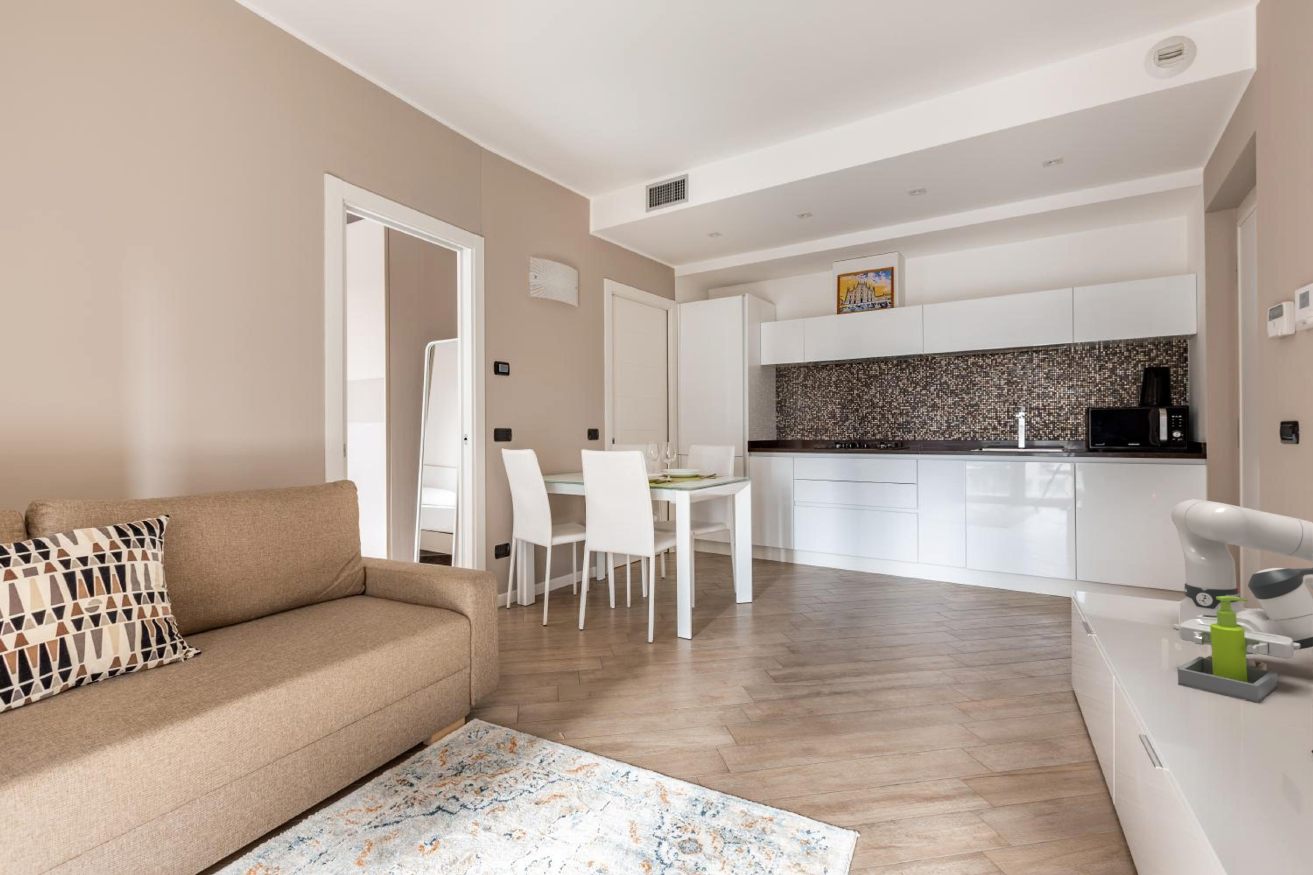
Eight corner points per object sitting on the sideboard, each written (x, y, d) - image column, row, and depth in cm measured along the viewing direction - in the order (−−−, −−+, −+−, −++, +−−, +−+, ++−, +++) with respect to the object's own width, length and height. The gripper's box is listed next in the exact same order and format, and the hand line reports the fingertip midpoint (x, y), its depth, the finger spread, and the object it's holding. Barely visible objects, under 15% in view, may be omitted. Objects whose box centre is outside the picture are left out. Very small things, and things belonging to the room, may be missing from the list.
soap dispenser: (1259, 688, 142) (1254, 599, 143) (1224, 687, 144) (1219, 599, 144) (1241, 679, 148) (1236, 594, 149) (1207, 678, 149) (1202, 593, 150)
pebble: (1241, 667, 156) (1241, 655, 156) (1258, 671, 153) (1257, 658, 153) (1237, 670, 154) (1237, 658, 154) (1254, 673, 151) (1253, 661, 151)
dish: (1199, 671, 156) (1199, 656, 156) (1277, 687, 144) (1276, 671, 144) (1178, 684, 148) (1177, 668, 148) (1258, 702, 136) (1257, 686, 137)
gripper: (1303, 658, 145) (1286, 671, 137) (1191, 637, 162) (1171, 648, 154) (1302, 630, 145) (1285, 642, 137) (1190, 613, 162) (1169, 622, 154)
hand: (1223, 645), depth 146 cm, fingers open, 8 cm apart
